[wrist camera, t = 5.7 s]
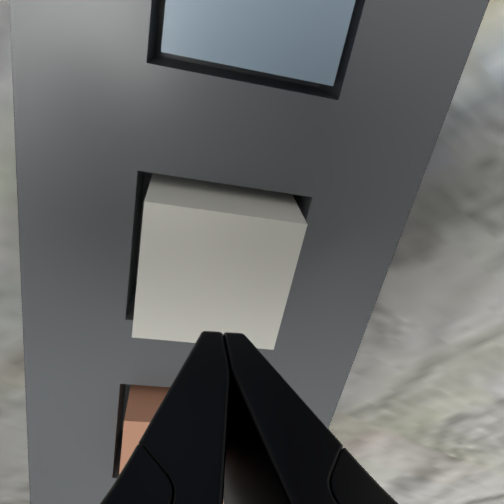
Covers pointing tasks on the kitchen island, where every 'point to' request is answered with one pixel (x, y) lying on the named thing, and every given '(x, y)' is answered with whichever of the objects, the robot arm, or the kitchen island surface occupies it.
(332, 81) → the slate blue key
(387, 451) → the kitchen island surface
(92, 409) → the key panel
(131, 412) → the terracotta key
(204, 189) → the offwhite key
